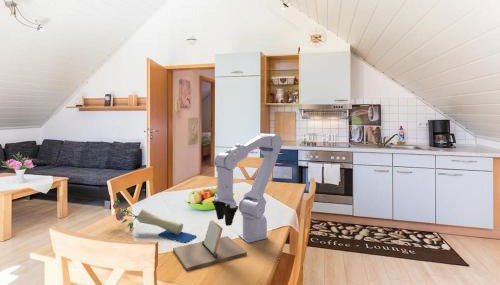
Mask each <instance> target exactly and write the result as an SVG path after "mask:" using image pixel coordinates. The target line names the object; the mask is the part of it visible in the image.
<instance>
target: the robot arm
mask: <svg viewBox="0 0 500 285" xmlns="http://www.w3.org/2000/svg"><path fill="white" fill-rule="evenodd" d="M282 148H283V141H282V136H281V135H280V134H278V133H262V132H261V133H258V134H255V136H254V137H253V138H252V139H250V140H249V141H248V142H246V143H244V144H243V143H235V145H234V147H231V148H230V149H228V148H227V150H226V151H225V152H219V153H217V154H216V156H215V158H214V160H213V164H214V165H215V167H216V172H217V177H216V178H217V179H216V182H217V184H216V185H217V187H216V188H217V189H216V193H214V198H213V200H212V201H211V202H212V205H213V206H214V210H215V214H216V218H217V220H219V221H220V220H224V222H225V226H229V227H230V226H232V225H233V222H234V217H235V216H236V212H237V211H238V210H239V212H240V213H241V216H242V233H240V234H238V237H239V238H241V239H242V240H243V241H245V242H246V243H253V242H256V241H261V240H264V239H268V236H267V233H268V232H267V230H268V226H267V225H268V222H267V218H266V216H265V214H264V213H265V211H266V206H267V205H266V204H267V200H266V199H265V197H264V194H265V191H266V189H267V186H268V184H269V180H270V178H271V175H272V173H273V170H274V168H275V165H276V163H277V160H278V157H279V154H280V151H281V149H282ZM256 149H259V151H260V153H261V155H263V159H262V162H261V164H260V166H259V168H258V172H257V173H256V176H255V179H254V182H253V183H252V186H251V188H250V191H248V192H246V193H244V194H243V197H242V198H241V199H240V201H239V204H238V205H237V201H235V199H234V194H233V193H234V169H235V168H236V167H237V164H238V163H239V162H241V161H243V160H244V159H246V158H247V157H248V156H249V153H251V152H253V151H254V150H256Z"/></svg>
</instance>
